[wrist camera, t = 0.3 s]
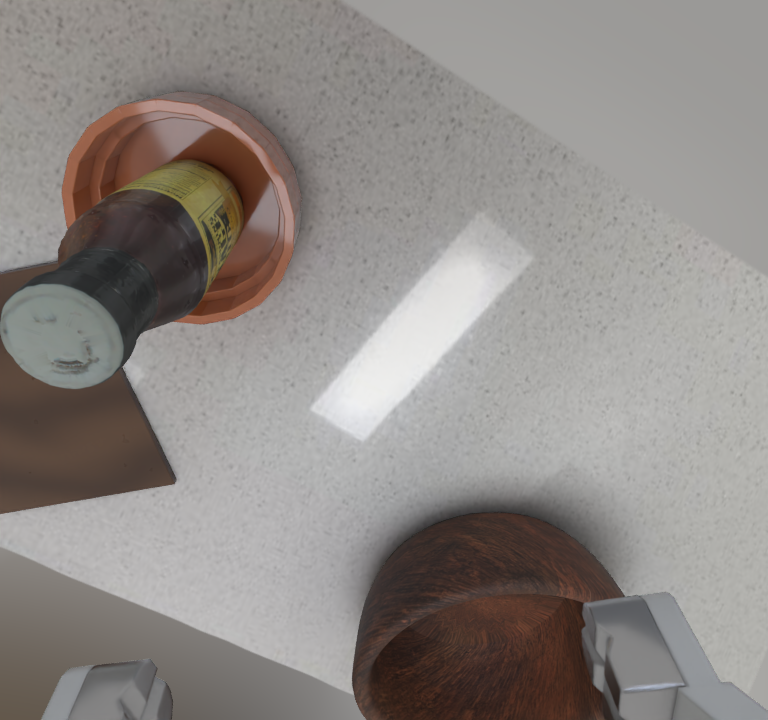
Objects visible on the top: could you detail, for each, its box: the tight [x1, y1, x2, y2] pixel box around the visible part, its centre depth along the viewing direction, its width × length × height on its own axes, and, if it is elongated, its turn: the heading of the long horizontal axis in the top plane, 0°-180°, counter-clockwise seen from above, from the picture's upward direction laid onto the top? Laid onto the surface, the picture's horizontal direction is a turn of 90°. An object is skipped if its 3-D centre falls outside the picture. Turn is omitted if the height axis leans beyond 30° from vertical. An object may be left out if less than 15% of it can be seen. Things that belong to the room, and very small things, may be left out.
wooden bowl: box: [352, 512, 625, 720], centre depth 52 cm, size 25×25×10 cm
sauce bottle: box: [0, 159, 244, 389], centre depth 28 cm, size 7×6×20 cm
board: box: [0, 261, 176, 514], centre depth 43 cm, size 20×20×1 cm
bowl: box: [62, 91, 302, 324], centre depth 34 cm, size 13×13×5 cm
